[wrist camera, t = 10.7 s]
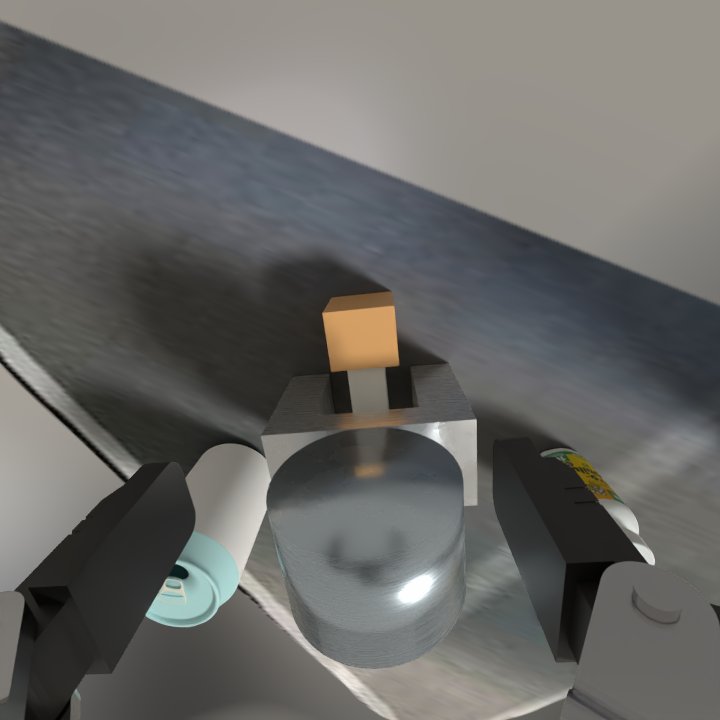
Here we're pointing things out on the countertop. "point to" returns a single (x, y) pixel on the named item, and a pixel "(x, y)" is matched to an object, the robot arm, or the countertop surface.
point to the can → (215, 535)
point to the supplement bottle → (604, 497)
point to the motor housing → (372, 516)
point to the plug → (363, 345)
